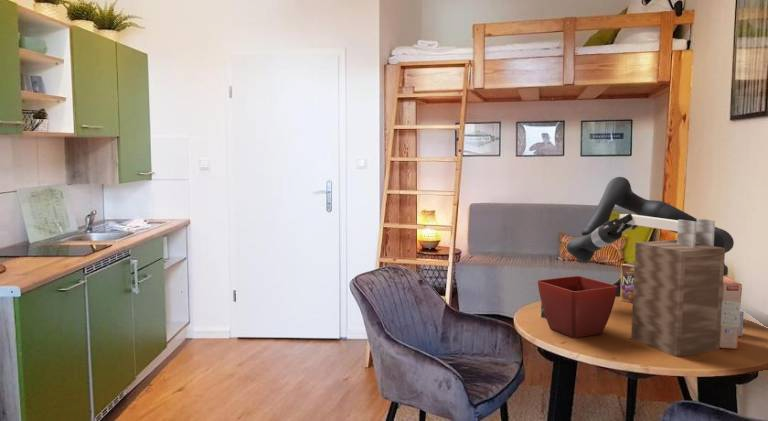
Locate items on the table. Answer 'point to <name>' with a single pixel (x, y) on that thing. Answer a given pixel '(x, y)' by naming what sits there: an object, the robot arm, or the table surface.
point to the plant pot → (577, 304)
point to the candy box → (627, 283)
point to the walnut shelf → (679, 291)
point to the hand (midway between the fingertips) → (636, 216)
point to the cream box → (653, 222)
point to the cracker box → (730, 313)
